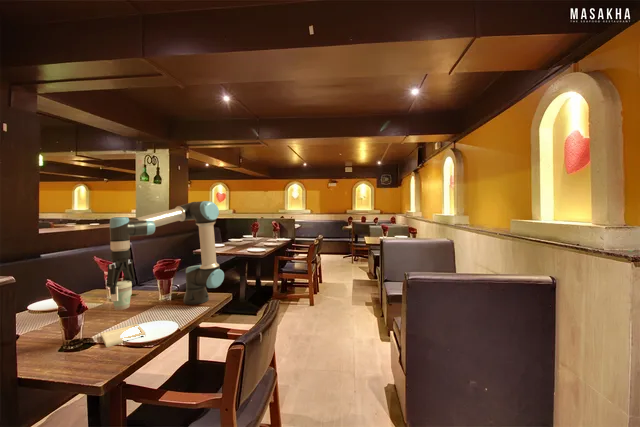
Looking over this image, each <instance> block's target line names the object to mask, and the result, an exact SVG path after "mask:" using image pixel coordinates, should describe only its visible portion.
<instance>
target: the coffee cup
mask: <svg viewBox="0 0 640 427" xmlns="http://www.w3.org/2000/svg"><path fill="white" fill-rule="evenodd" d="M116 286H118V301H112V303H113V309H114V311H122V310H126V309H129V308H130V305H131V297H132V295H131V286H133V283H131V281H126V280H121V281H119V280H118V282H117V285H116Z"/></svg>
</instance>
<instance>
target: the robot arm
mask: <svg viewBox="0 0 640 427" xmlns="http://www.w3.org/2000/svg"><path fill="white" fill-rule="evenodd" d="M219 214H220V211H219V207H218V205H217V204H216V203H215V202H213V201H209V200H203V201H192V202H188V203H185V204H181V205H177V206H176V207H175V208H172V209H168V210H164V211H160V212H156V213H151V214H147V215H143V216H139V217H135V218H131V219H130V218H129V216H125V217H124V216H122V217H118V216H117V217H111V218H110V219H109V226H108V227H109V241H110V243H109V244H110V246H109V247H110V259H111V260H112V264H110V263H109V264H107V275H106V284H105V287H106V288H109V289H110V299H111V300H110V301H111V302H113V301H118V286H116V285H117V282H119V278H120V273H122V274H123V276H124V279H125V281H131V283H132V282H134V280H135V278H136V274H135V271H134V266H133V265H134V264H133V263H134V262H133V259H129V258H130V257H131V250H130V248H131V242H130V241H131V240H130V238H131V237H139V236H140V237H141V236H149V235H153V234H154V233H155V231H156V227H161V226H164V225H168V224H171V223H175V222H179V221H180V222H185V221H195V226H198V236H199V243H200V244H199V245H200V255H201V256H200V258H201V264H199V265H198V264H197V265H191V266H188V267H186V268H185V284H186V285H185V287H186V290H185V293H184V297H183V304H184V305H190V306H191V305H198V304H203V303H206V302H208V301H209V300H210V296H209V292H208V291H207V290H208V289H216V288H218V287H220V286H221V285H222V283H223V282H224V279H225V273H224V270H222V269H220V268H221V267H220V263H218V262H217V253H216V241H215V240H216V239H215V238H216V237H215V229H214V228H215V227H214V225H215V224H216V222H217V219H218V217H219V216H220V215H219ZM132 284H133V283H132ZM132 286H133V285H132ZM132 286H131V296H132V294H133V292H132V291H133V289H132ZM207 288H208V289H207Z"/></svg>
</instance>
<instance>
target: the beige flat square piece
mask: <svg viewBox="0 0 640 427" xmlns="http://www.w3.org/2000/svg"><path fill="white" fill-rule="evenodd" d="M135 326H139V327H138V329H139V330H140V332H141V333H139V334H135V335H132V336H128V337H124V338H131V337H136V336H140V335H145V336H146V331H145V330H144V329H143V328H142V327H141V326H140V324H138V323H136V324H135V323H134V324H132V325H128V326H124V327H120V328H117V329H112V330H108V331H105V332H101V333H100V338H101V339H102V342H103V344H104V345H105V348H109V347H112V346H116V345H119V344H123V340H122V339H123V338H120V335H121V334H122V333H123V332H124V331H126V330H128V329H129V328H132V327H135Z"/></svg>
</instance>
